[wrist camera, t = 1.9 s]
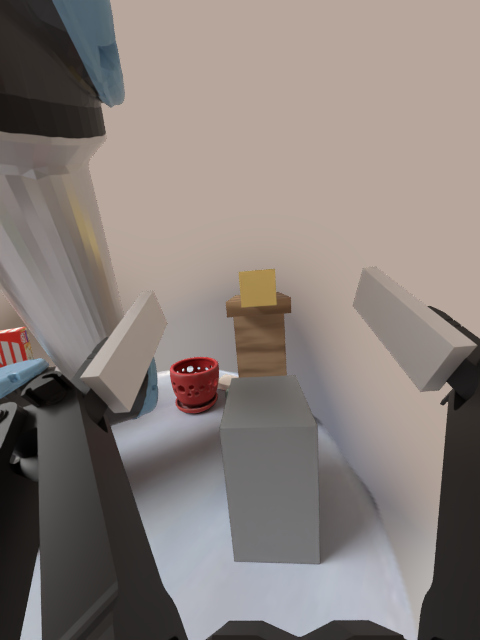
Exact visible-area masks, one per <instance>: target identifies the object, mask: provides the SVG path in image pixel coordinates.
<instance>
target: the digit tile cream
mask: <svg viewBox="0 0 480 640" xmlns="http://www.w3.org/2000/svg"><path fill="white" fill-rule="evenodd" d="M231 378H239V377H235V376H231V375H227V374H225V375H223V376H222V377H220V378H219V381H218V387H217V388H218V389H222V390H225V391H226V390H227V389H228V388H229V387H230V383H231Z"/></svg>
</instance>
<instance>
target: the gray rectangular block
mask: <svg viewBox="0 0 480 640" xmlns="http://www.w3.org/2000/svg"><path fill="white" fill-rule="evenodd" d="M220 438H221V447H222V455H223V464H224V473H225V482H226V491H227V500H228V509H229V518H230V527H231V536H232V544H233V553H234V561H237V562H269V563H301V564H320V546H319V486H318V426H317V424H316V422H315V419H314V417H313V415H312V413H311V410H310V408H309V406H308V403H307V401H306V399H305V396H304V394H303V392H302V390H301V387H300V385H299V383H298V381H297V378H296V376H295V375H289V376H266V377H244V378H231V383H230V387H229V391H228V395H227V399H226V404H225V408H224V412H223V416H222V420H221V425H220Z"/></svg>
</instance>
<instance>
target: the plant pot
mask: <svg viewBox="0 0 480 640" xmlns="http://www.w3.org/2000/svg"><path fill="white" fill-rule="evenodd" d="M188 366H193V368H194V369H193V371H192V372H187V367H188ZM211 366H212V368H211ZM197 367H200V370H198V369H197ZM206 367H207V368H208V369H209V370H205V368H206ZM183 368H184V371H182V369H183ZM177 371H178V373H177ZM195 372H197V373H195ZM170 377H171V383H172V387H173V390H174V393H175V395H176V397H177V399H176V406H177V408H178V409H179V410H181V411H183V412H186V413H199V412H202V411H205V410H207V409H209V408H210V407H212V406H213V405H214V404H215V402H216V401H217V397H218V395H217V393H216V391H217V387H218V381H219V367H218V362H217V361H216V360H215V359H212V358H208V357H194V358H188V359H184V360H181V361H179V362H177V363H175V364H173V365H172V366H171V368H170Z"/></svg>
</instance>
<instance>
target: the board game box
mask: <svg viewBox="0 0 480 640" xmlns="http://www.w3.org/2000/svg"><path fill="white" fill-rule="evenodd" d="M31 359H34V357H33V353H32V350H31V346H30V341H29V336H28V332H27V328H26V327H21V328H14V329H8V330H0V368H1V367H4V366H7V365H11V364H15V363H18V362H22V361H26V360H31Z"/></svg>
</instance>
